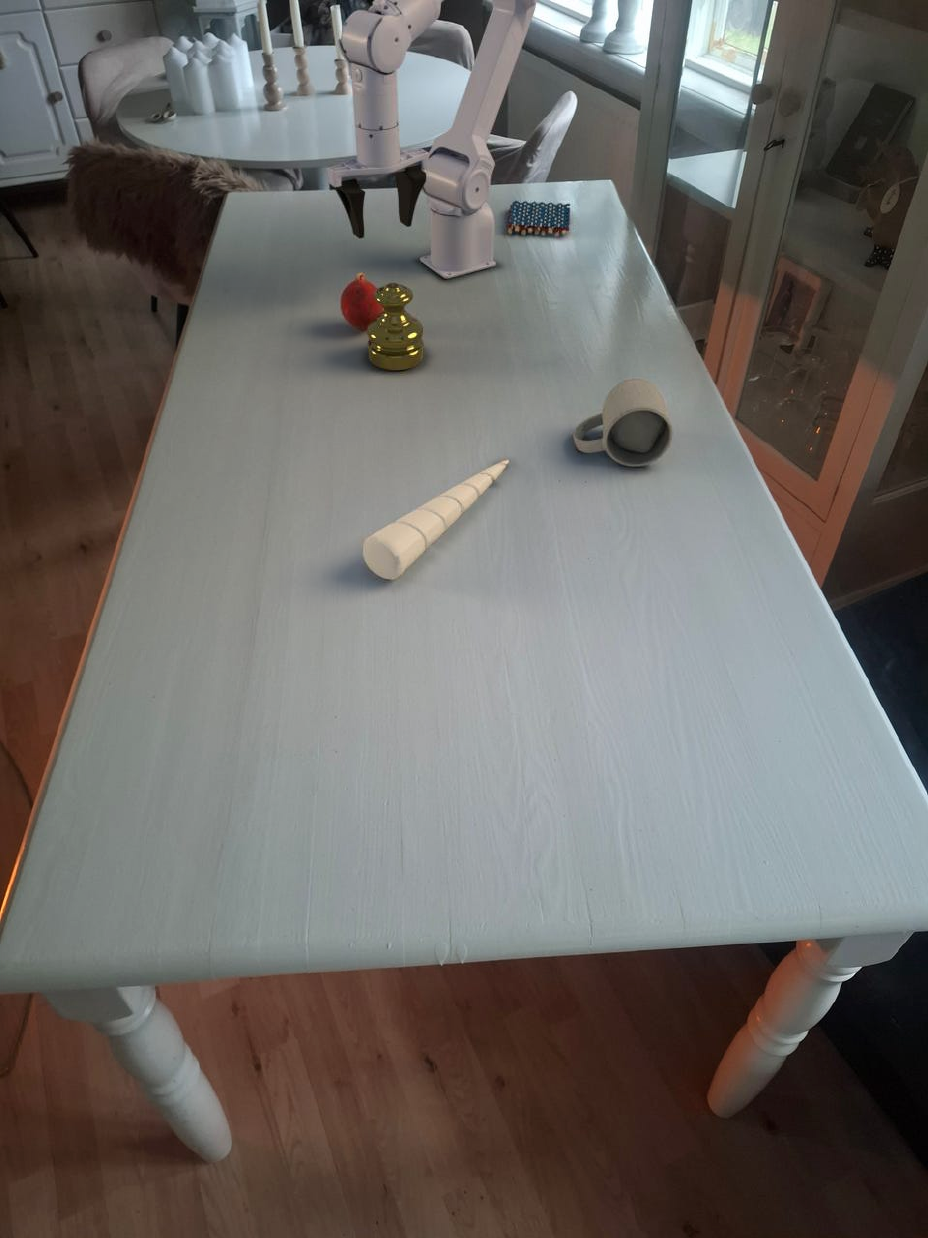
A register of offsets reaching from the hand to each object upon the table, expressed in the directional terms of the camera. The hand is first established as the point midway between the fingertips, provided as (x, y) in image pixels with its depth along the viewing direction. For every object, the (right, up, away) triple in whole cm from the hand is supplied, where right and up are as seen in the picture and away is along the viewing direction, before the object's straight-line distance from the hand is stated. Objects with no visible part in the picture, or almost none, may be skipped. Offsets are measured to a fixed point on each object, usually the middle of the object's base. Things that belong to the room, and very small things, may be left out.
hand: (382, 229), depth 122 cm
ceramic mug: (+30, -35, -20) cm, 50 cm away
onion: (-3, -15, -1) cm, 15 cm away
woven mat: (+24, +12, +26) cm, 37 cm away
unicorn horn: (+9, -45, -29) cm, 54 cm away
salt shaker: (+2, -20, -6) cm, 21 cm away
